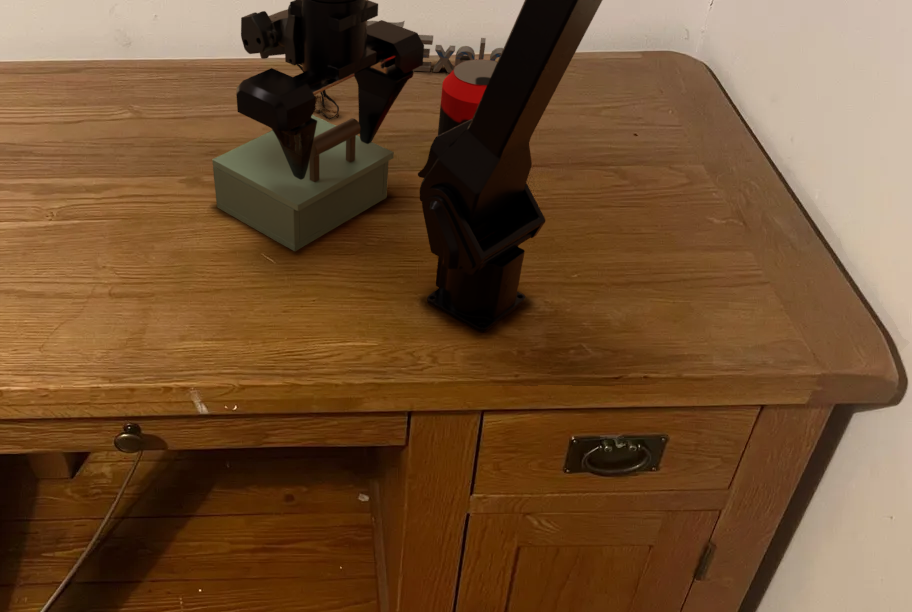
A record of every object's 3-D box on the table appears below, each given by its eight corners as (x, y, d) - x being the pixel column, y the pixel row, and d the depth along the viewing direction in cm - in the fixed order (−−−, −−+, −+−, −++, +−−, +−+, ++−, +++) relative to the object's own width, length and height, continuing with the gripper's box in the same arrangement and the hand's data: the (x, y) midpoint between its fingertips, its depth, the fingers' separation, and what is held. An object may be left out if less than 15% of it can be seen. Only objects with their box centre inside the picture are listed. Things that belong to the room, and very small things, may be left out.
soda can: (435, 201, 94) (446, 89, 86) (431, 163, 99) (440, 55, 91) (509, 201, 94) (527, 89, 85) (501, 164, 99) (517, 55, 91)
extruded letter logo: (331, 66, 117) (331, 21, 113) (332, 61, 118) (333, 16, 114) (529, 77, 114) (536, 32, 110) (529, 72, 115) (536, 27, 111)
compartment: (386, 197, 95) (389, 156, 91) (294, 251, 88) (293, 209, 85) (308, 159, 100) (308, 119, 97) (216, 207, 94) (212, 166, 90)
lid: (393, 158, 91) (396, 112, 88) (298, 211, 84) (297, 163, 81) (308, 118, 97) (307, 74, 94) (212, 165, 90) (208, 119, 87)
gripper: (340, -59, 85) (339, 100, 96) (186, -4, 76) (203, 166, 87) (433, -30, 79) (420, 135, 90) (279, 34, 70) (285, 210, 81)
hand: (333, 159), depth 87 cm, fingers open, 9 cm apart
